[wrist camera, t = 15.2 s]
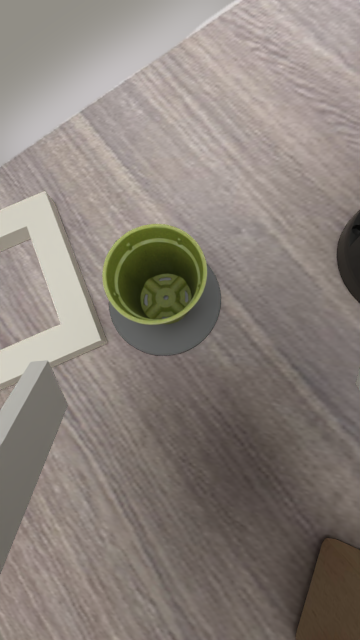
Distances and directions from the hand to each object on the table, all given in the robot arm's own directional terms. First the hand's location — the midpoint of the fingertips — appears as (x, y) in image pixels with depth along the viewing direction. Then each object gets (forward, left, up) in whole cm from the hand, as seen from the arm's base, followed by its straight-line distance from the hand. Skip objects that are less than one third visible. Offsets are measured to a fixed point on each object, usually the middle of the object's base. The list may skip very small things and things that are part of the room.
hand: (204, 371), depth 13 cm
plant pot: (0, -10, -21) cm, 24 cm away
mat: (0, -10, -22) cm, 24 cm away
